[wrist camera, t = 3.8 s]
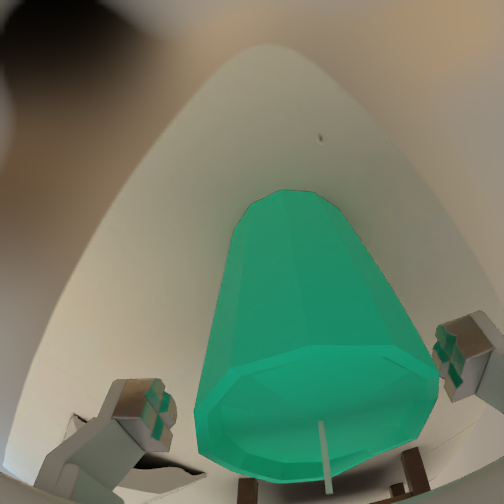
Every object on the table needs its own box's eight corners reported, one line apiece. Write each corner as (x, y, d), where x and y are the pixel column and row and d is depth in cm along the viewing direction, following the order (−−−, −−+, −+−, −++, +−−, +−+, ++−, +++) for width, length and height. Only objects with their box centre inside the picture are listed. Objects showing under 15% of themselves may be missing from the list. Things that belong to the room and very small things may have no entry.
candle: (247, 306, 17) (228, 528, 6) (218, 203, 15) (121, 434, 4) (354, 286, 16) (431, 495, 6) (343, 178, 14) (509, 366, 3)
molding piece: (105, 467, 44) (127, 510, 39) (52, 475, 36) (73, 523, 30) (165, 402, 32) (206, 476, 27) (71, 416, 24) (110, 508, 18)
